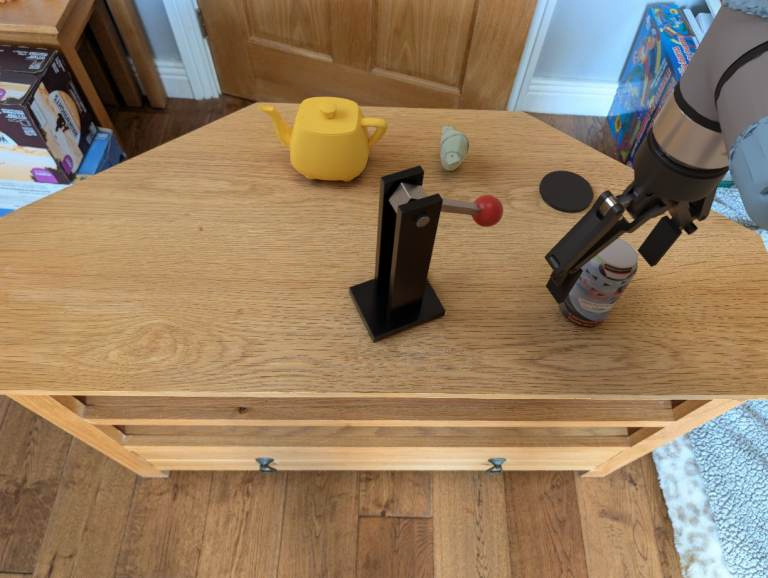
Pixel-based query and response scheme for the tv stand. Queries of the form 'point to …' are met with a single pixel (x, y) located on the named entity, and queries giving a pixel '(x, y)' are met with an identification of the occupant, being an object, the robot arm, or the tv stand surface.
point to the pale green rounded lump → (453, 147)
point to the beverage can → (600, 285)
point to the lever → (454, 204)
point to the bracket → (401, 262)
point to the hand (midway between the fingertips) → (601, 275)
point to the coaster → (566, 191)
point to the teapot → (328, 137)
